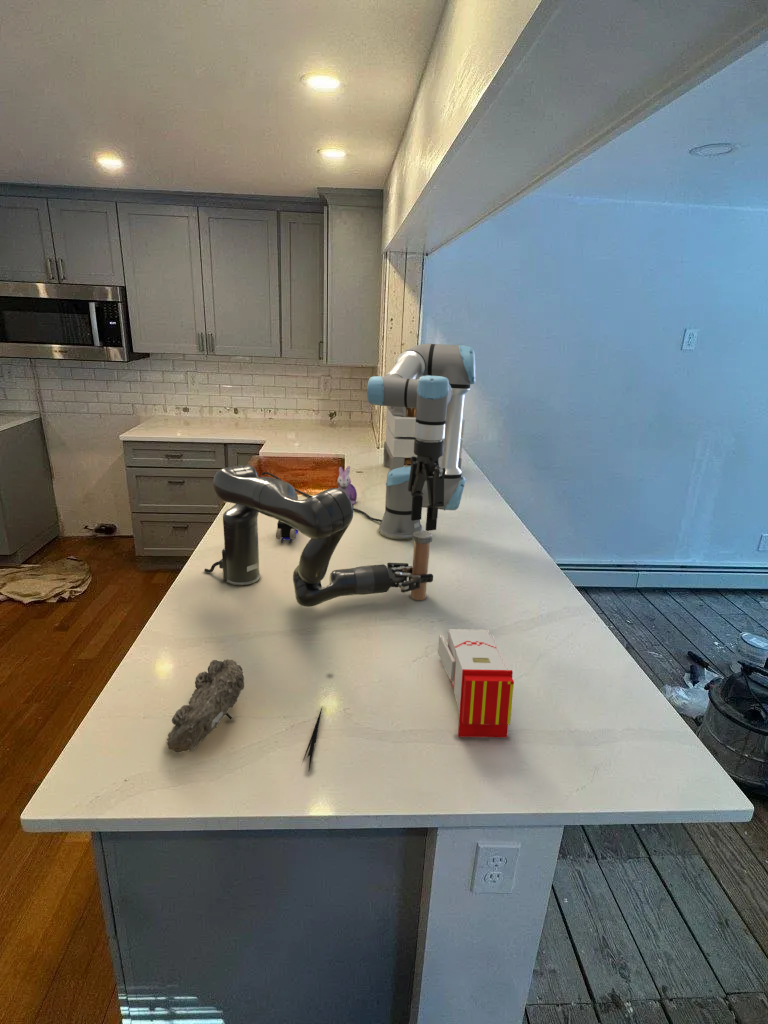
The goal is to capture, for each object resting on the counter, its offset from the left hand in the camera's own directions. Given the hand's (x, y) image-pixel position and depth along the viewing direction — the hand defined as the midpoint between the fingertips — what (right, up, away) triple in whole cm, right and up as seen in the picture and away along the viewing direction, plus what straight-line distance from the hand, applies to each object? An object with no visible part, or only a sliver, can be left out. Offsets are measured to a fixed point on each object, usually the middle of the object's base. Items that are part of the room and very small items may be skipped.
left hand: (428, 573), depth 156 cm
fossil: (-45, -22, -48) cm, 69 cm away
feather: (-25, -23, -47) cm, 58 cm away
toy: (+6, -21, -37) cm, 43 cm away
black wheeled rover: (-45, +8, +37) cm, 58 cm away
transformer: (+5, +36, +119) cm, 125 cm away
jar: (-3, -6, +1) cm, 7 cm away
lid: (-2, +11, -5) cm, 12 cm away
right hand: (-2, +14, -6) cm, 15 cm away
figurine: (-28, +21, +73) cm, 81 cm away
